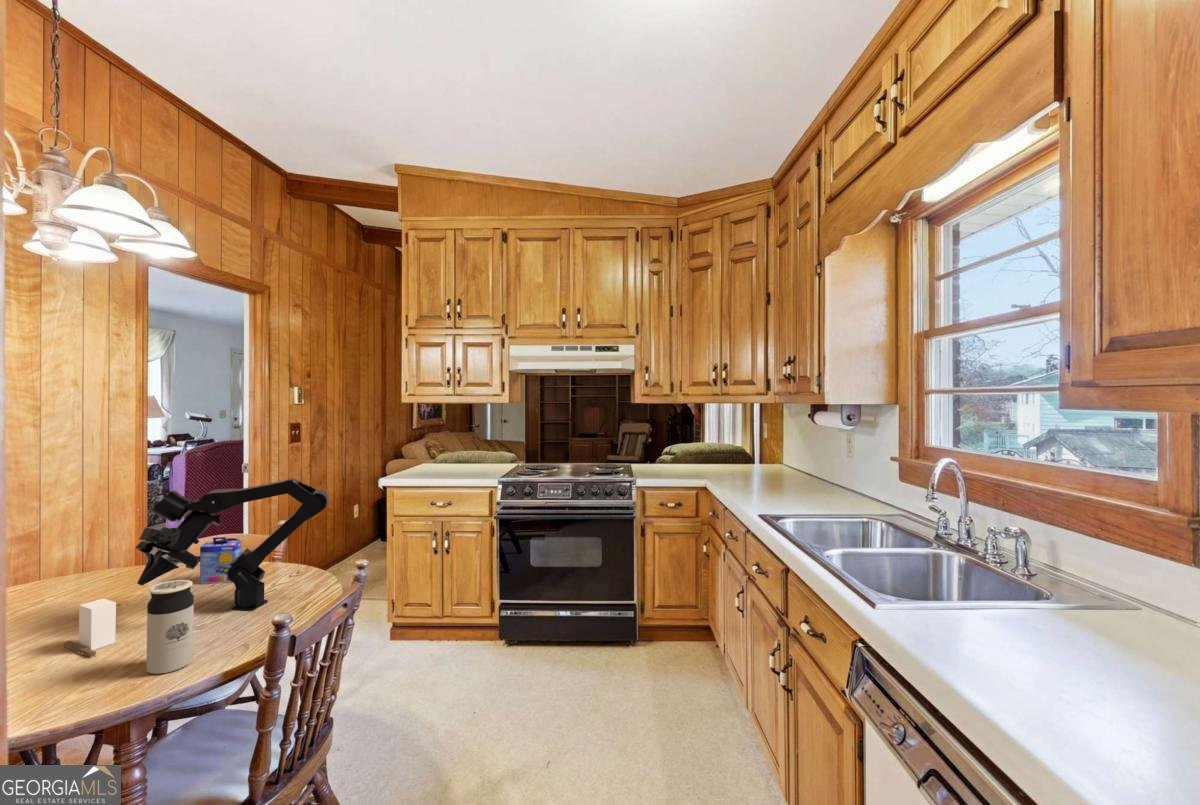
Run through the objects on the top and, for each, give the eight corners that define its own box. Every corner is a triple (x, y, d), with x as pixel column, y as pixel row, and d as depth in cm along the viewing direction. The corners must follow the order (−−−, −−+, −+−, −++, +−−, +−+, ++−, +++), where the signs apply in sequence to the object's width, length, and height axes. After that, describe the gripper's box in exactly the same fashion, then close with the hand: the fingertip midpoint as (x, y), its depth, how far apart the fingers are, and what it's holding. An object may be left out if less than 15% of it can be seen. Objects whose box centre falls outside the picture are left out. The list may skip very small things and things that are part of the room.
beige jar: (145, 664, 115) (146, 584, 115) (190, 652, 121) (191, 576, 121) (147, 679, 110) (149, 595, 109) (195, 666, 115) (196, 586, 115)
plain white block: (103, 638, 126) (103, 598, 126) (115, 643, 124) (115, 602, 124) (78, 646, 122) (79, 605, 122) (90, 652, 120) (91, 609, 120)
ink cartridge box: (198, 585, 162) (199, 539, 162) (205, 578, 167) (206, 534, 167) (235, 582, 165) (235, 537, 165) (241, 576, 170) (242, 532, 170)
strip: (69, 644, 123) (69, 640, 123) (95, 656, 118) (95, 651, 118) (63, 646, 122) (63, 642, 122) (90, 657, 118) (90, 653, 118)
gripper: (144, 510, 139) (91, 563, 129) (186, 518, 132) (132, 575, 122) (178, 532, 146) (129, 584, 136) (218, 541, 139) (170, 596, 129)
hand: (139, 584), depth 131 cm, fingers closed
